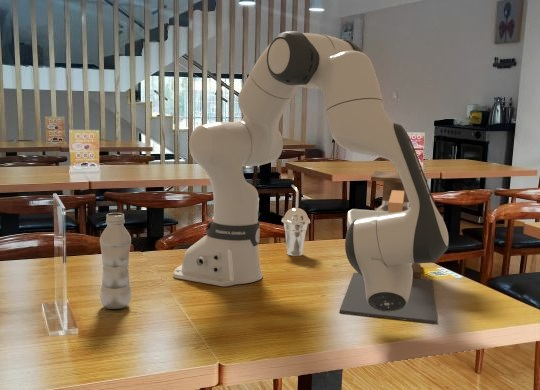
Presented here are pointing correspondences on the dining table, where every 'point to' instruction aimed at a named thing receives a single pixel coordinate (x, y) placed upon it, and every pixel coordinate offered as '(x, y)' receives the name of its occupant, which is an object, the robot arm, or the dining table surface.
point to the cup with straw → (295, 228)
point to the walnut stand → (389, 183)
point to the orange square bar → (396, 201)
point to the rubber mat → (416, 309)
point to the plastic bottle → (115, 263)
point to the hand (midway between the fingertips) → (396, 203)
